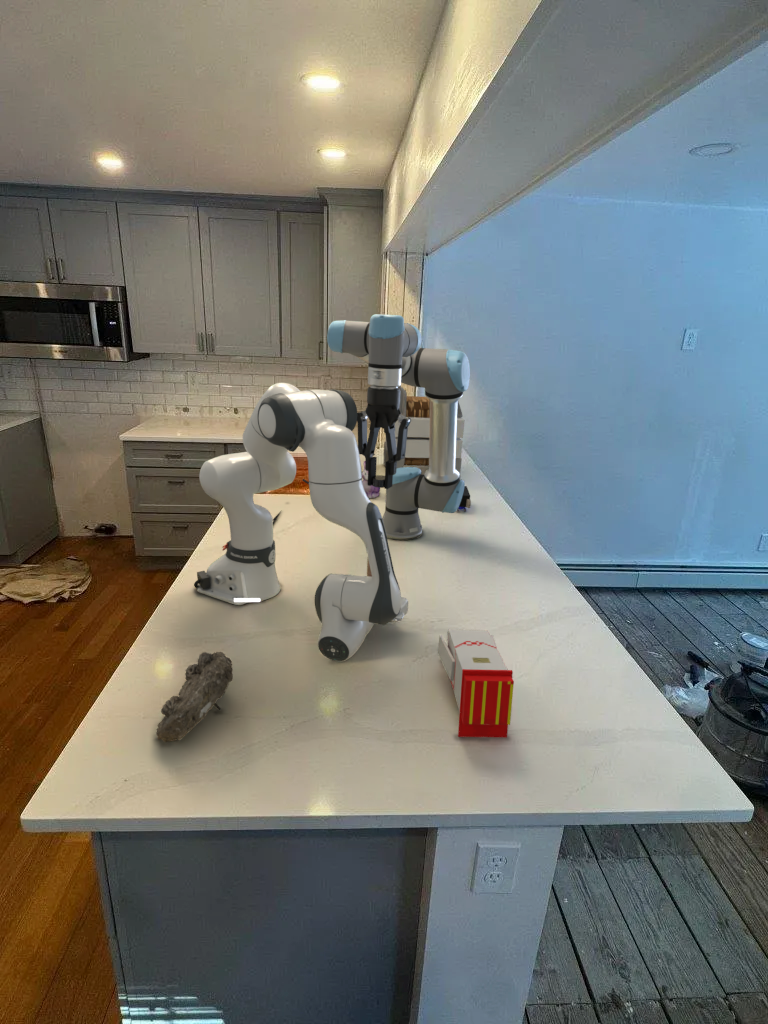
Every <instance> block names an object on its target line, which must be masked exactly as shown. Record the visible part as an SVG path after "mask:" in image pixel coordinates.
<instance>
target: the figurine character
mask: <svg viewBox="0 0 768 1024" xmlns="http://www.w3.org/2000/svg"><path fill="white" fill-rule="evenodd" d="M471 501H472V500H471V494H470V491H469V488H468V486H467V485H465V487H464V492H463V496H462V499H461V502H460V505H459V507H458V509H457V511H456V512H460V510H463V511H464V513H466V512H467V509H470V508H471V505H472V504H471ZM466 508H467V509H466Z"/></svg>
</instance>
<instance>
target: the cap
mask: <svg viewBox="0 0 768 1024" xmlns="http://www.w3.org/2000/svg"><path fill="white" fill-rule="evenodd" d="M372 486H374V487H378V488H380V489H381V488H382V489H384V487H385V475H379V474H378V475H377V474H376V476H373V477H372Z"/></svg>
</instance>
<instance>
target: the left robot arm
mask: <svg viewBox="0 0 768 1024" xmlns="http://www.w3.org/2000/svg"><path fill="white" fill-rule="evenodd" d="M357 413H358V409H357V403H356V402H355V400H354V398H353V396H351V395H350V394H349V393H348V392H346V391H344V390H341V389H334V388H331V389H304V390H300V389H299V388H298V387H296V386H295V385H293V384H291V383H288V382H276V383H274V384H272V385H271V386H269V387H268V388H267V389H266V390H265V392H264V393H263V394H262V396H261V397H260V398H259V400H258V401H257V403H256V404H255V406H254V408H253V411H252V412H251V415H250V416H249V419H248V421H247V424H246V426H245V427H244V428H245V429H244V430H243V433H242V444H243V447H244V449H245V451H242V452H235V453H228V454H222V455H219V456H215V457H212V458H210V459H208V460H206V461H204V462H203V464H202V465H201V467H200V471H199V475H198V477H199V485H200V487H201V489H202V490H203V492H204V493H205V494H206V495H207V496H208V497H210V498H211V499H213V500H214V501H216V502H217V503H219V504H220V505H221V506H222V508H223V509H224V511H225V513H226V515H227V518H228V523H229V531H230V540H229V541H227V542H226V544H224V545H223V546H222V547H221V548H222V551H225V550H226V552H225V553H224V554H222V555H221V556H219V557H218V558H217V559H215V560H214V561H213V562H212V563H211V564H210V565H209V566H208V567H207V570H201V571H196V577H197V578H196V579H197V580H195V581H194V583H193V586H194V588H195V589H196V591H197V593H200V594H203V595H205V596H208V597H212V598H213V599H217V600H221V601H223V602H225V603H229V604H232V605H235V606H241V605H246V604H248V603H260V602H262V601H266V600H268V599H271V598H273V597H275V596H277V595H278V594H279V592H280V591H281V583H280V581H279V578H278V573H277V568H276V540H274V525H273V519H274V517H273V515H272V513H271V512H270V511H269V509H268V508H266V507H264V506H262V505H259V504H257V503H255V502H254V501H255V500H254V495H256V494H261V493H266V492H271V491H276V490H279V489H281V488H285V487H286V486H289V485H290V484H292V483H293V482H294V480H295V478H296V475H297V464H296V460H295V458H294V456H293V455H292V454H291V453H290V452H293V453H294V452H296V450H297V449H298V447H299V448H300V449H302V450H303V451H304V453H305V455H306V458H307V466H308V468H307V469H308V470H307V472H308V482H309V484H308V489H309V497H310V501H311V505H312V507H313V508H314V510H315V511H316V512H317V513H318V514H319V515H320V516H321V517H322V518H323V519H325V520H327V521H329V522H330V523H332V524H335V525H338V526H340V527H342V528H345V529H346V530H348V531H350V532H352V533H353V534H355V535H356V536H357V537H358V538H359V539H360V540H361V541H362V542H363V545H364V547H365V550H366V555H367V556H368V560H369V565H370V569H371V574H372V577H371V576H367V575H355V574H349V573H348V574H346V573H329V574H327V575H325V577H324V578H323V579H322V580H321V581H320V583H319V584H318V586H317V588H316V590H315V593H314V597H313V598H314V602H313V603H314V608H315V612H316V616H317V617H318V619H319V622H320V623H321V627H320V632H319V635H318V638H317V647H318V650H319V652H320V653H321V655H323V656H324V657H325V658H326V659H328V660H331V661H335V662H344V661H347V660H349V659H350V658H352V657H353V656H354V654H356V652H357V651H358V650H359V649H360V648H361V646H362V644H363V643H364V641H365V639H366V636H367V635H368V634H369V633H370V631H371V630H372V628H373V627H374V625H375V624H376V625H381V626H385V625H388V624H389V623H391V624H395V623H399V622H402V621H403V619H404V617H405V616H406V615H407V614H408V611H409V599H407V597H403V596H402V593H401V589H400V585H399V582H398V579H397V576H396V572H395V568H394V565H393V564H394V563H393V559H392V554H391V551H390V546H389V541H388V538H387V536H386V532H385V527H384V523H383V520H382V518H383V515H382V514H381V513H382V512H381V511H380V509H379V507H378V505H376V504H375V503H373V502H372V501H371V500H370V498H368V497H367V495H366V493H365V490H364V487H363V483H362V481H363V478H362V472H363V470H362V462H361V461H362V460H361V454H359V450H358V440H357V437H356V435H355V433H354V432H353V431H354V429H355V428H356V426H357V424H358V422H357ZM367 556H366V557H367Z"/></svg>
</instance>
